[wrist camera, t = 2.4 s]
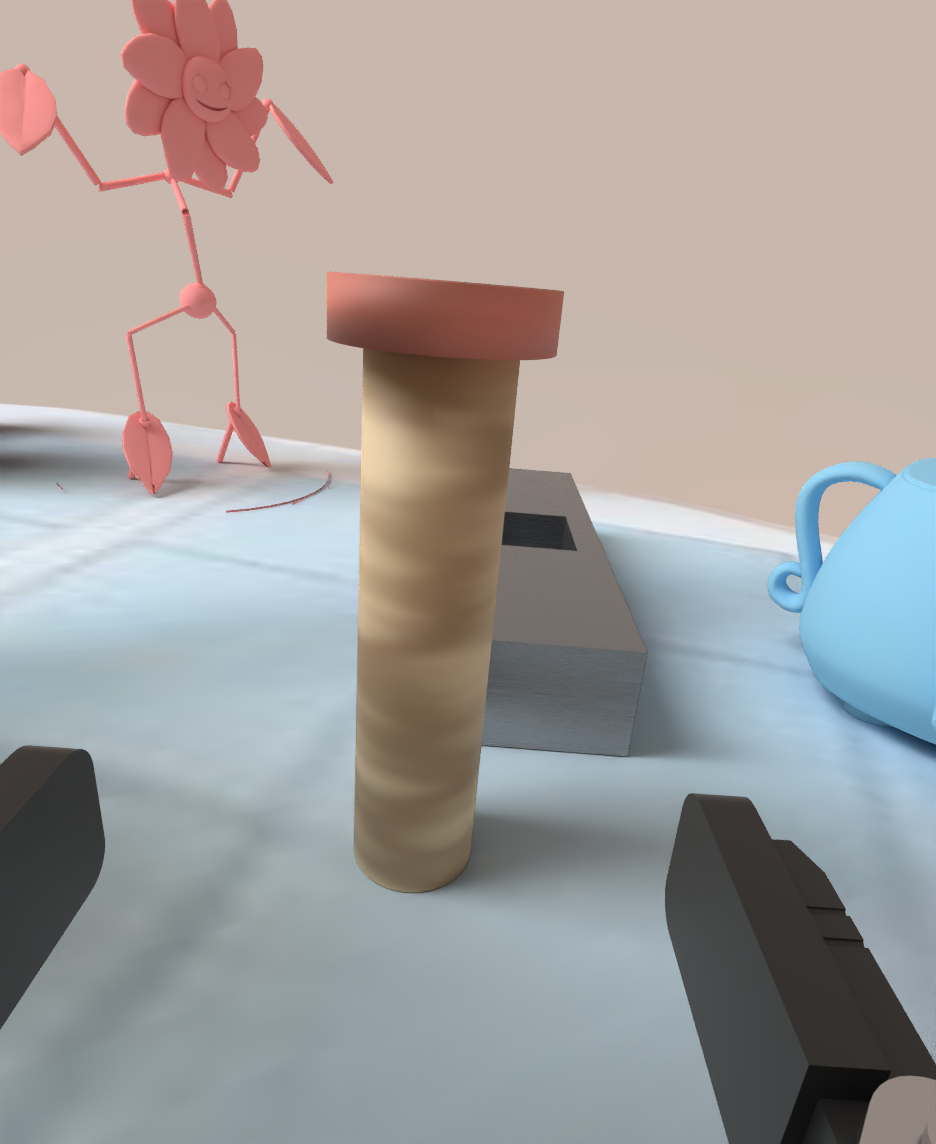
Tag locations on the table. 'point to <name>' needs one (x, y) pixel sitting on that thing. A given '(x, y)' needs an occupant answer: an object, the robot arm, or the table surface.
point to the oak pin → (429, 549)
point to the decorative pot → (871, 596)
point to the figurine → (173, 161)
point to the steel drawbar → (559, 629)
